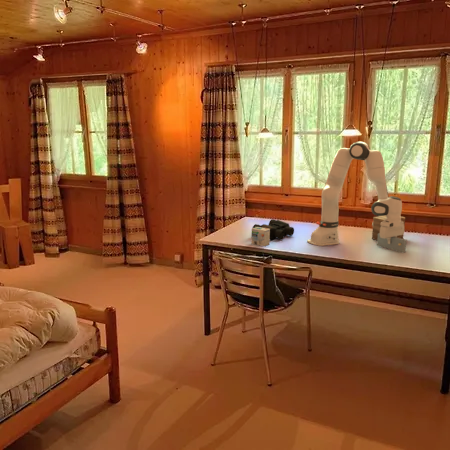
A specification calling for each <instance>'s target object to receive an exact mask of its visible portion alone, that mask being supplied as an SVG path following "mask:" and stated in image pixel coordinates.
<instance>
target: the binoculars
mask: <svg viewBox="0 0 450 450" xmlns="http://www.w3.org/2000/svg"><path fill="white" fill-rule="evenodd" d="M255 227H261V228H268V229H270V240H271V241H273V240H275V239H279V240H283V239H284V238H285V236H289V237H291V236H293V235H294V233H295V228H294V227H293V226H290V224H289V223H288V222H285V221H283V220H280V219H271V220H270V221H269V223H268V224H266V223H263V224H261V225H260V224H258V223H255V224H254V225H253V226H252V228H255Z"/></svg>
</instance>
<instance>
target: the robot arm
mask: <svg viewBox="0 0 450 450" xmlns="http://www.w3.org/2000/svg"><path fill="white" fill-rule="evenodd" d="M353 160H357V161H358V160H360V161H364V164H365V170H366V175H367V179H368V180H369V181H370V182H372V183H373V184H374V185H375V188H376V192H377V193H376V194H377V201H374V203H373V204H371V207H370V210H371V213H372V214H373V215H374V216H375V217H378V216H384V215H385V216H386V219H385V220H384V221H382V222H381V223H380V225H381V227H380V238H384V239H385V238H387V240H388V244H391V242H392V241H391V240H390V239H391V237H397V236H399V235H403V234H404V235H405V225H404V222H403V221H401V217H402V216H401V215H402V212H403V211H402V210H403V202H402V199H401V198H400V197H397V196H392V195H390V196H389V191H388V186H387V179H386V170H385V162H384V157H383V155H382V152H381V151H379V150H377V149H374V150H373V149H372V150H371V148H370V145H369V144H368V143H367V142H364V141H356V142H353V143H352V144H351V145H350V147H349V148H347V147H342V148H339V149H338V150H337V151H336V153H335V156H334V158H333V161H332V162H331V166H330V169H329V172H328V175H327V179H326V182H325V185H324V187H323V189H322V191H321V219H320V221H316V222H315V223H316V225H318V226H317V228H315V230H313V232H311V235H310V239H307V241H306V242H307V243H308V244H311V245H314V246H319V247H322V246H332V245H339V244H340V238H339V208H340V207H339V200H340V199H339V198H340V194H341V191H342V188H343V185H344V183H345V180H346V177H347V174H348V171H349V169H350V166H351V163H352V162H353Z"/></svg>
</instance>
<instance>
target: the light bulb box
mask: <svg viewBox="0 0 450 450" xmlns="http://www.w3.org/2000/svg"><path fill="white" fill-rule="evenodd" d="M250 242H251V245H255V246H261V247H266V246H268V245H270V229H268V228H261V227H255V228H253V227H252V228H251V241H250Z"/></svg>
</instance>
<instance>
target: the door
mask: <svg viewBox="0 0 450 450" xmlns="http://www.w3.org/2000/svg"><path fill="white" fill-rule="evenodd" d="M390 240H391V241H392V242H391V244H388V240H387V238H385V239H384V238H380V233H379V234H378V239H377V240H376V241H377V242H376V246H377V245H378V246H377V247H381V248H384V249H388V250H392V251H395V252H396V251H397V252H399V253H402V254H403V253H406V251H407V241H408V240H407V239H404V238H403V239H401V238H397V237H391V239H390Z"/></svg>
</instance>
